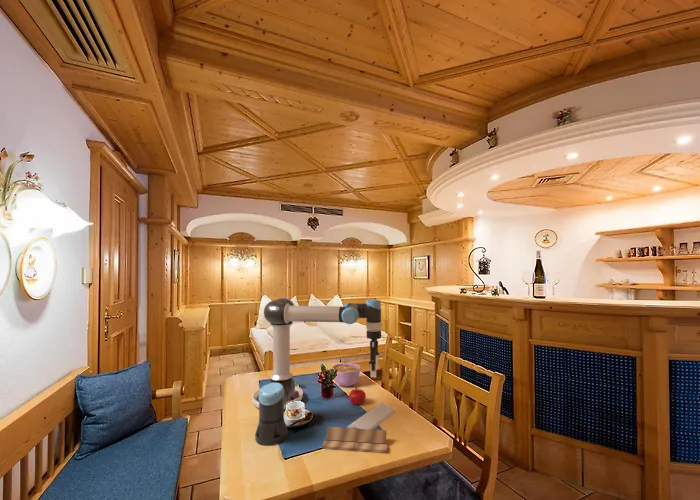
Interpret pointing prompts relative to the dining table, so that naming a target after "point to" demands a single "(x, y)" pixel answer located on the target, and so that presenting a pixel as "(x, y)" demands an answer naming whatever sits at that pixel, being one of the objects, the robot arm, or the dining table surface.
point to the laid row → (355, 446)
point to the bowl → (295, 397)
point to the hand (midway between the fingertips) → (374, 372)
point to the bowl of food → (347, 373)
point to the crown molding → (373, 417)
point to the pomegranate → (357, 396)
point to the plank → (356, 435)
